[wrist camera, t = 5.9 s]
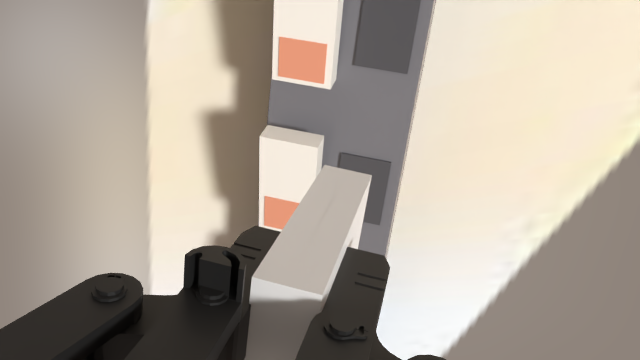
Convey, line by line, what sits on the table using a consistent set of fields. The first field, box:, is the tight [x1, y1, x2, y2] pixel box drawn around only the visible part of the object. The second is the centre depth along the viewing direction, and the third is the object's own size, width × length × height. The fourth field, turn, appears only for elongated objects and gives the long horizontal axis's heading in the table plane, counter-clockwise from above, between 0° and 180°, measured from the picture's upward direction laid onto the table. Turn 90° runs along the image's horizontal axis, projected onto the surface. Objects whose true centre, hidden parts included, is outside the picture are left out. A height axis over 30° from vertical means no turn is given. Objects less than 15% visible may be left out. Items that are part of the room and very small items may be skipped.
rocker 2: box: [259, 125, 324, 232], centre depth 35 cm, size 7×4×2 cm, turn 172°
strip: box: [258, 0, 436, 258], centre depth 37 cm, size 40×9×4 cm, turn 173°
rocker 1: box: [272, 0, 344, 89], centre depth 32 cm, size 7×4×2 cm, turn 172°
